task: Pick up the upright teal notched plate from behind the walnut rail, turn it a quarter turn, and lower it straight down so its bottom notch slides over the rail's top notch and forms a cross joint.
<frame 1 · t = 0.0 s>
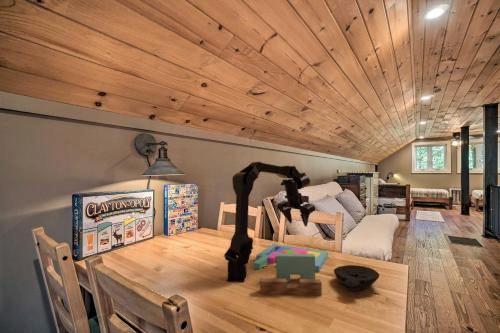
hand: (298, 224, 112), 15 cm above the table, tool pointing down, fingers open, 9 cm apart
tetris game: (290, 263, 108), on the table
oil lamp: (354, 287, 84), on the table
walnut rail: (290, 292, 80), on the table
teal plate: (295, 279, 90), on the table
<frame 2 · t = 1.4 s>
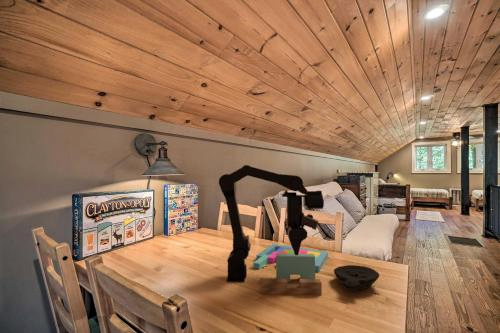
hand: (294, 250, 90), 10 cm above the table, tool pointing down, fingers open, 9 cm apart
nothing on the table moved.
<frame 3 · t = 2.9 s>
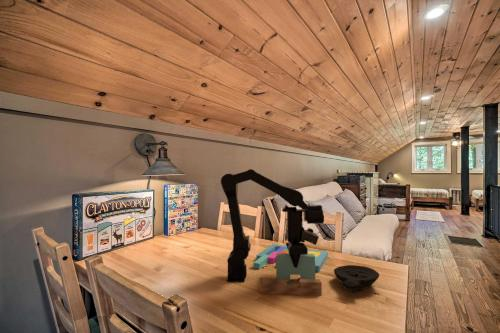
hand: (295, 265, 90), 5 cm above the table, tool pointing down, fingers closed on teal plate, 3 cm apart
teal plate: (295, 279, 90), on the table, touching gripper
everything else where it was.
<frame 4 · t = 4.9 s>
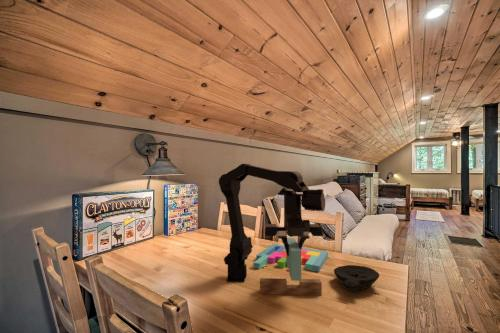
hand: (293, 255, 80), 12 cm above the table, tool pointing down, fingers closed on teal plate, 3 cm apart
teal plate: (293, 271, 80), point 7 cm above the table, touching gripper
everything else where it was.
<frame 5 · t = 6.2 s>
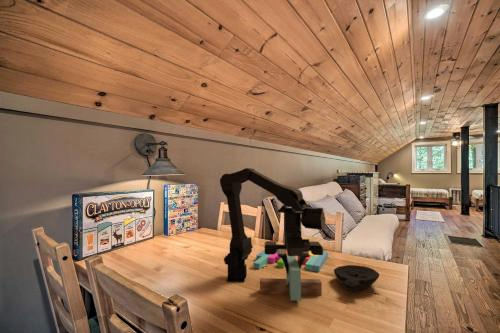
hand: (292, 273, 80), 6 cm above the table, tool pointing down, fingers closed on teal plate, 3 cm apart
teal plate: (293, 289, 80), point 1 cm above the table, touching gripper
everything else where it was.
when the fingers open (6 cm above the table, at t = 6.9 s): teal plate stays where it is, on the table.
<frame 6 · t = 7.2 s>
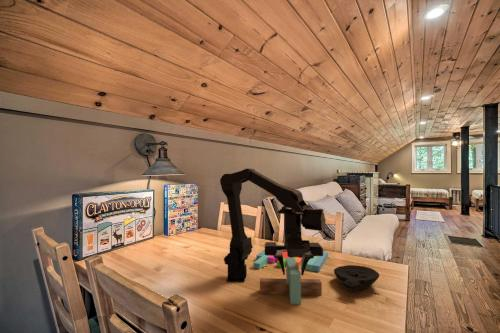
hand: (293, 274, 80), 6 cm above the table, tool pointing down, fingers open, 6 cm apart
teal plate: (293, 292, 80), on the table
everything else where it was.
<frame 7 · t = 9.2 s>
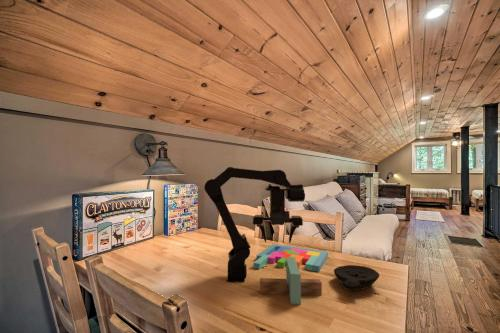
hand: (277, 242, 93), 13 cm above the table, tool pointing down, fingers open, 9 cm apart
nothing on the table moved.
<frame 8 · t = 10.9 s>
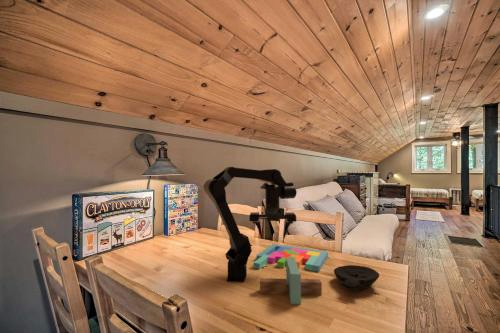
hand: (272, 238, 98), 13 cm above the table, tool pointing down, fingers open, 9 cm apart
nothing on the table moved.
at the end: teal plate 0.1 cm from the target spot on the walnut rail, point 0.0 cm above the walnut rail's base; teal plate tilted 0°; the gripper is holding nothing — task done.
